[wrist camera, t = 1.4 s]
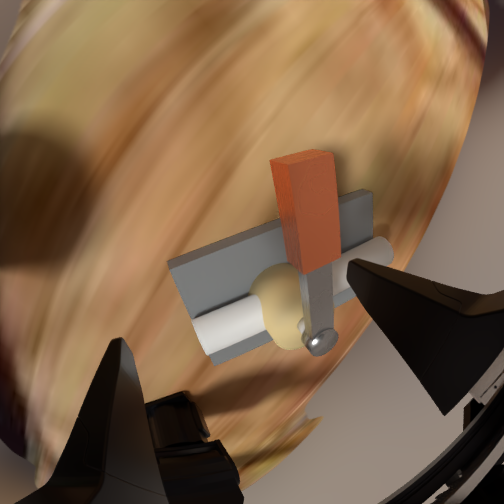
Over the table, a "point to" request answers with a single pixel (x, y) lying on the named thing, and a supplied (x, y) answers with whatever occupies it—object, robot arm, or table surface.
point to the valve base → (249, 259)
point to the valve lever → (311, 237)
